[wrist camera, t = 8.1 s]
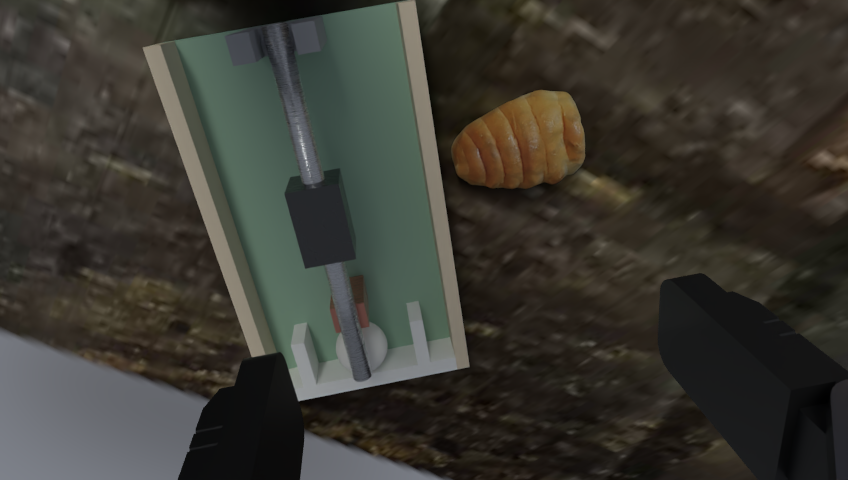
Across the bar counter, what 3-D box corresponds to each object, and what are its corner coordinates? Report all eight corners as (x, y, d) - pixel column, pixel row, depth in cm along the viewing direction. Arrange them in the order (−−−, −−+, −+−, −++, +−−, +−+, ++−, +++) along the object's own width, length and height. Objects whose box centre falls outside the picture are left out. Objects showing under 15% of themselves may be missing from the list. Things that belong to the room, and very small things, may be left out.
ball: (330, 354, 40) (342, 388, 42) (385, 344, 40) (393, 378, 42) (330, 315, 43) (341, 348, 45) (380, 305, 43) (388, 339, 46)
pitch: (164, 42, 35) (112, 55, 28) (409, -1, 36) (423, 1, 28) (276, 374, 47) (260, 449, 39) (460, 338, 47) (481, 404, 40)
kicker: (259, 24, 34) (238, 30, 28) (309, 15, 34) (300, 19, 28) (342, 340, 44) (340, 394, 38) (381, 333, 44) (385, 385, 38)
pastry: (460, 199, 42) (469, 217, 39) (439, 114, 40) (447, 125, 36) (578, 166, 42) (597, 181, 39) (565, 78, 40) (585, 86, 36)
